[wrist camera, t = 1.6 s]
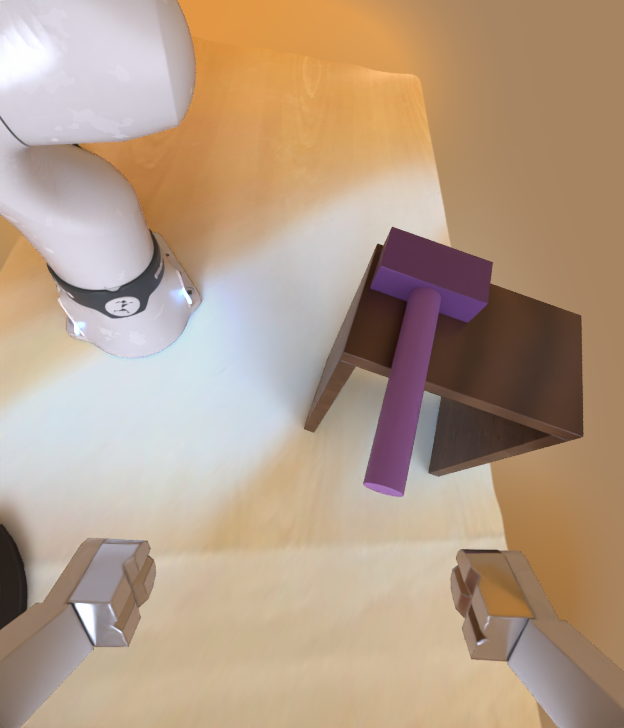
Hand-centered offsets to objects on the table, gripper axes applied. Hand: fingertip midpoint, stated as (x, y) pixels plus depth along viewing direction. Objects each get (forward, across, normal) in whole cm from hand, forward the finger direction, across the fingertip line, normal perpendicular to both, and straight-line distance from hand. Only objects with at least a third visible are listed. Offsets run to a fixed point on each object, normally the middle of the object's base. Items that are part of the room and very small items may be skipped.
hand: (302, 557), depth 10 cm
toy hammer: (+20, -7, +4) cm, 21 cm away
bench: (+38, -10, +22) cm, 45 cm away
